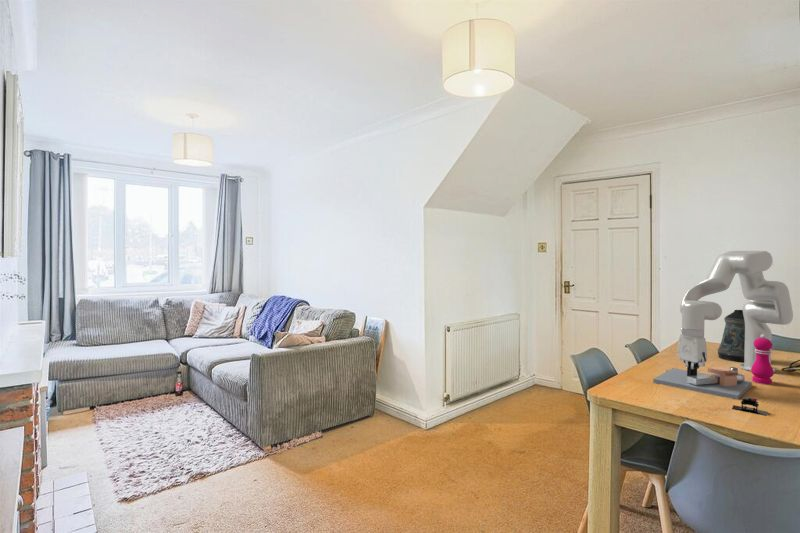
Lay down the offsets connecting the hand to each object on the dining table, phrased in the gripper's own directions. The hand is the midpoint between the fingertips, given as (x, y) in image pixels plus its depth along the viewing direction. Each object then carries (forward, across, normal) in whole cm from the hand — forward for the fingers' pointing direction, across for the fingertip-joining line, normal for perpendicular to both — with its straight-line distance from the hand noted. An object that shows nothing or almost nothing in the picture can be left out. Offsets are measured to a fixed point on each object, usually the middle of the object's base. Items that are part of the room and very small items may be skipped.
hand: (691, 377), depth 174 cm
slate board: (+3, 0, +5) cm, 6 cm away
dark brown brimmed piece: (+4, +28, -5) cm, 29 cm away
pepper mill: (+3, +2, +32) cm, 33 cm away
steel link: (+1, +3, +8) cm, 9 cm away
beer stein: (+4, -33, +63) cm, 71 cm away
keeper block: (+3, +4, +10) cm, 11 cm away
